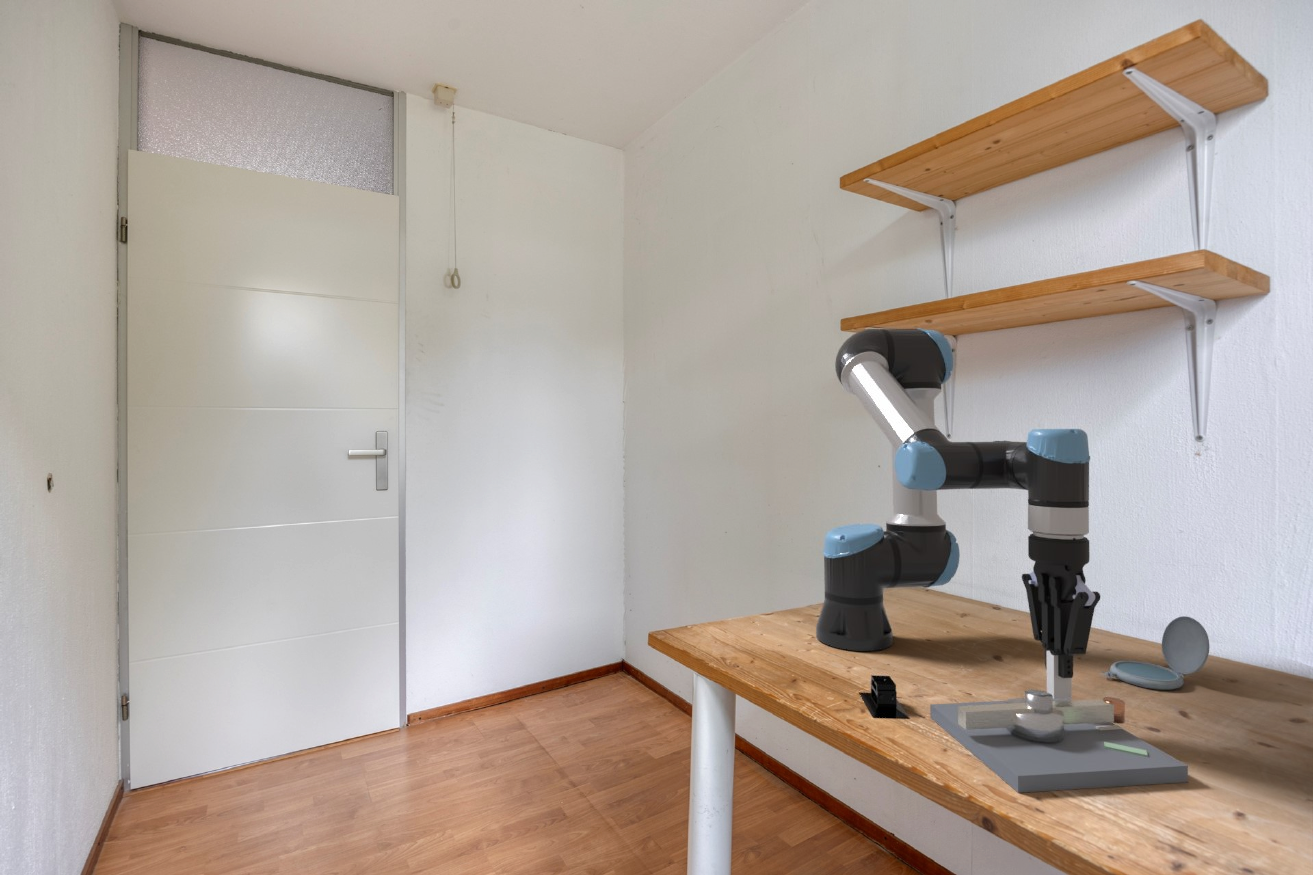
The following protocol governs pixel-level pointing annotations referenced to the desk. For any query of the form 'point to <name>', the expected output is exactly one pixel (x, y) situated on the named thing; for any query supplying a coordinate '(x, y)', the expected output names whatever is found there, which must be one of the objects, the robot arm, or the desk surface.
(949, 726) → the stand
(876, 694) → the black stepped block
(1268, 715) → the desk surface
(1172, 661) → the pocket watch
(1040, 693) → the rotary pointer lever
